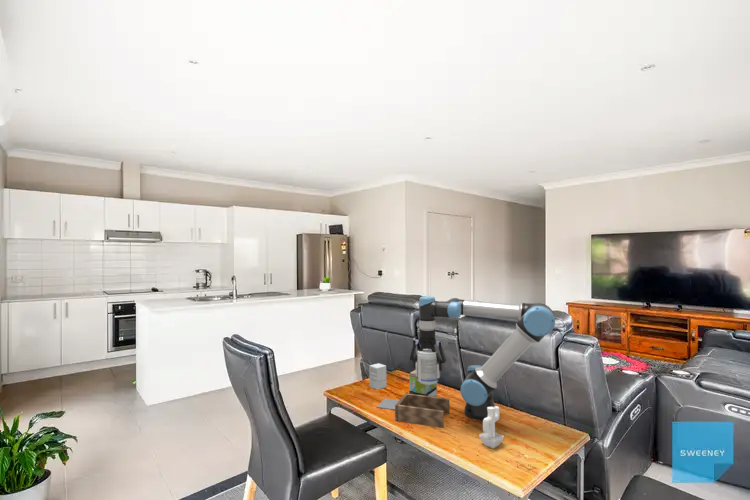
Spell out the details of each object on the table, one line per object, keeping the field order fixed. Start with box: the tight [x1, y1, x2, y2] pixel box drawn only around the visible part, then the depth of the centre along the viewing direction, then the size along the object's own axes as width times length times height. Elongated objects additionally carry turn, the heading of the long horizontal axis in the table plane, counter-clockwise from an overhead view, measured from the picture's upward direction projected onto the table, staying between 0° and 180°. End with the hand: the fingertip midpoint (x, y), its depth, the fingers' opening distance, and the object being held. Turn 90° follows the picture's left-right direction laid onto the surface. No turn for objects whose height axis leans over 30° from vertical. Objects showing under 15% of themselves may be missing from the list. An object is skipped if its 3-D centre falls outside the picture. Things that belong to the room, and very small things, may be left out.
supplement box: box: [368, 362, 387, 391], centre depth 224 cm, size 7×7×13 cm
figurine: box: [478, 405, 505, 449], centre depth 155 cm, size 7×9×15 cm
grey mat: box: [376, 398, 400, 411], centre depth 197 cm, size 12×12×1 cm
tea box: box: [408, 369, 438, 397], centre depth 206 cm, size 15×10×15 cm, turn 148°
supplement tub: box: [416, 348, 439, 385], centre depth 181 cm, size 10×10×15 cm
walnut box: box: [394, 393, 451, 429], centre depth 182 cm, size 22×17×7 cm
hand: (427, 376), depth 181 cm, fingers closed on supplement tub, 10 cm apart
